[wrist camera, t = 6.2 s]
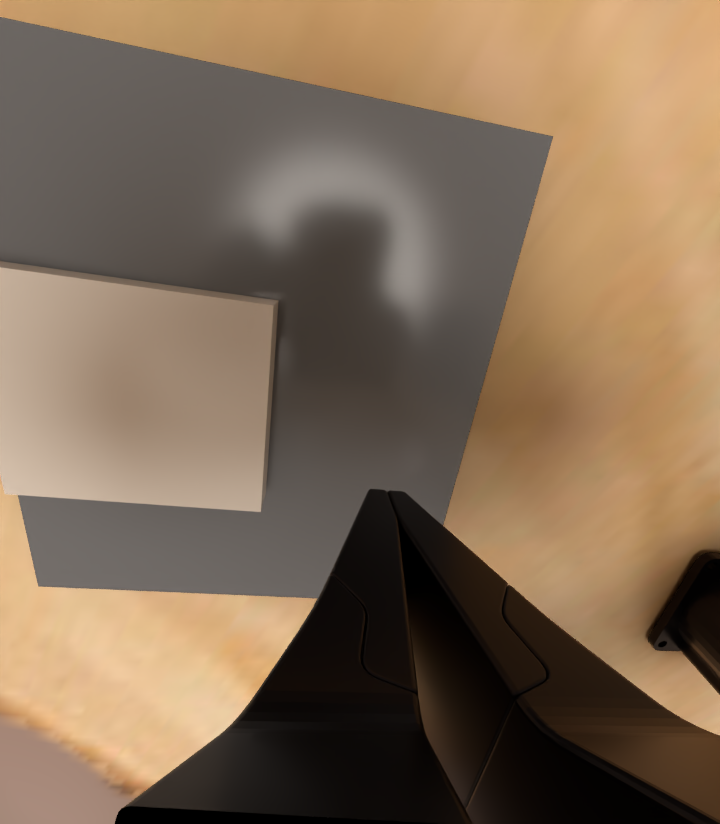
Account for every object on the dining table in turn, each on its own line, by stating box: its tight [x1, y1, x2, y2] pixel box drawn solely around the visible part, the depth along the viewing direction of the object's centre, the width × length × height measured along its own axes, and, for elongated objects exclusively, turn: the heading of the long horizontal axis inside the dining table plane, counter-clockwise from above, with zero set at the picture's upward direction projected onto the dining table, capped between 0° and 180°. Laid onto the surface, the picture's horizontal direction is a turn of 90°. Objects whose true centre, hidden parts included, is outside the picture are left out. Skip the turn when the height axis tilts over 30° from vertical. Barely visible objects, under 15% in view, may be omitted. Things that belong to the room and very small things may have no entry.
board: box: [0, 17, 553, 598], centre depth 14 cm, size 18×16×1 cm
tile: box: [0, 261, 279, 512], centre depth 12 cm, size 7×1×8 cm
